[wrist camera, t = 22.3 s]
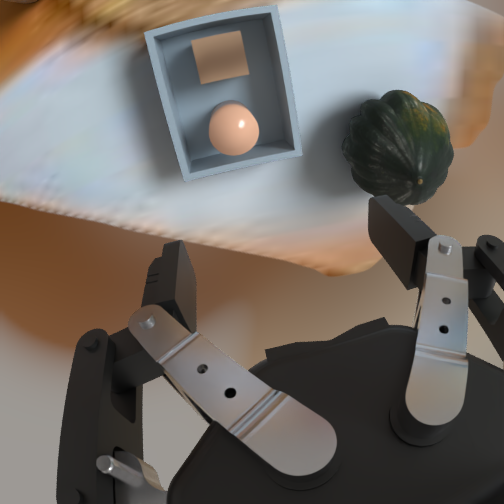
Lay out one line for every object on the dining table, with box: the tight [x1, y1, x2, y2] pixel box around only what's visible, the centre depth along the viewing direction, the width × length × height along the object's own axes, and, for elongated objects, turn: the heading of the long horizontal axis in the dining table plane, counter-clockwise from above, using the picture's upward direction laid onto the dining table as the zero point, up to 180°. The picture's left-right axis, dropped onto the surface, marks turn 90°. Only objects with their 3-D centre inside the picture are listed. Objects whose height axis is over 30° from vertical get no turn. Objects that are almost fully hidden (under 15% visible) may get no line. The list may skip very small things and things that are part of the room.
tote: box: [144, 5, 303, 182], centre depth 31 cm, size 18×14×6 cm
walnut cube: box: [191, 31, 249, 84], centre depth 28 cm, size 5×5×5 cm
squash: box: [342, 90, 454, 206], centre depth 34 cm, size 14×15×15 cm
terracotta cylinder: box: [209, 100, 259, 156], centre depth 32 cm, size 5×5×7 cm
